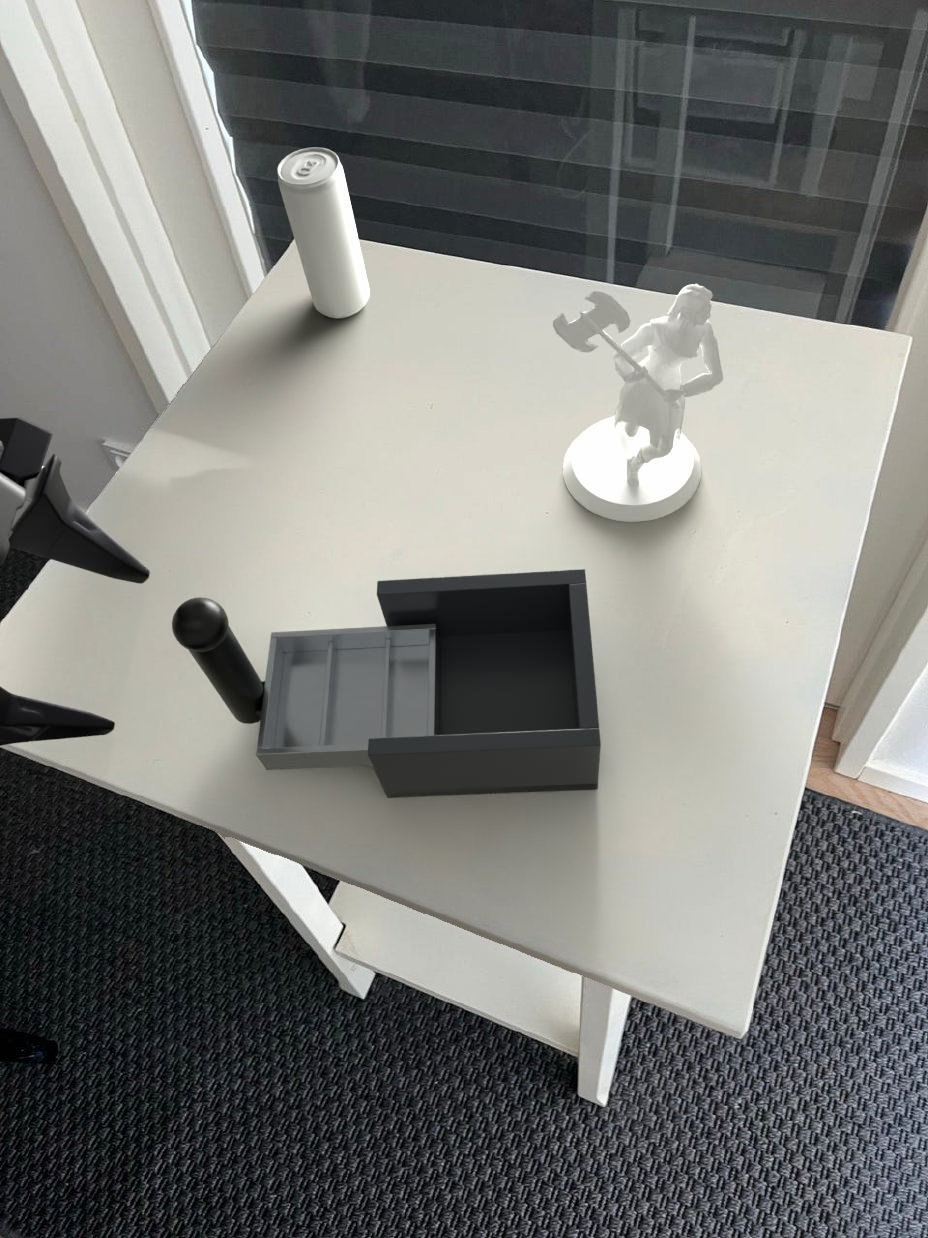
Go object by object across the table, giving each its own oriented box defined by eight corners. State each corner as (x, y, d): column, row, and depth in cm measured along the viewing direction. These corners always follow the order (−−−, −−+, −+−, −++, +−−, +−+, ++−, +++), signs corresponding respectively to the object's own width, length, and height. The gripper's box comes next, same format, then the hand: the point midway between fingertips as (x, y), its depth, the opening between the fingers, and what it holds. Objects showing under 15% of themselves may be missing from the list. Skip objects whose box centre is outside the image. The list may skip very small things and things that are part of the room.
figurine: (556, 522, 62) (551, 303, 47) (558, 418, 67) (555, 190, 52) (706, 521, 61) (750, 297, 46) (697, 416, 66) (735, 182, 51)
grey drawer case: (386, 798, 53) (367, 755, 48) (393, 634, 59) (377, 580, 54) (597, 790, 52) (600, 745, 47) (583, 623, 58) (585, 568, 53)
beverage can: (381, 289, 77) (353, 151, 67) (354, 327, 75) (320, 190, 65) (331, 278, 79) (296, 141, 68) (303, 314, 76) (262, 178, 66)
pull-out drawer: (222, 772, 54) (149, 681, 44) (239, 652, 58) (176, 547, 49) (438, 763, 53) (410, 668, 43) (440, 642, 57) (415, 532, 48)
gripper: (-277, 655, 31) (162, 773, 40) (-94, 280, 41) (228, 440, 49) (-309, 751, 38) (67, 833, 47) (-148, 414, 48) (140, 533, 57)
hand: (130, 649), depth 50 cm, fingers open, 9 cm apart
